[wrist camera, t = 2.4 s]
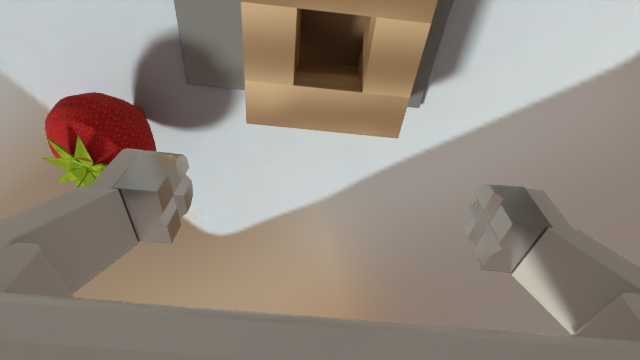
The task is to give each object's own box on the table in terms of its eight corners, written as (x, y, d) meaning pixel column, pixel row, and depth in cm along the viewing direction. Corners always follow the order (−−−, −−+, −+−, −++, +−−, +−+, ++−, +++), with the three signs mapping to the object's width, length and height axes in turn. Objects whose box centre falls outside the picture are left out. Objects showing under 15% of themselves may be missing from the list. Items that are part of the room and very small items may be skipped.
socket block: (256, -72, 19) (237, -69, 15) (426, -51, 19) (450, -43, 15) (259, 91, 25) (246, 123, 21) (387, 104, 26) (397, 138, 22)
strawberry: (145, 57, 24) (57, 124, 16) (193, 142, 29) (142, 225, 21) (78, 75, 25) (-35, 146, 17) (134, 154, 30) (65, 238, 22)
